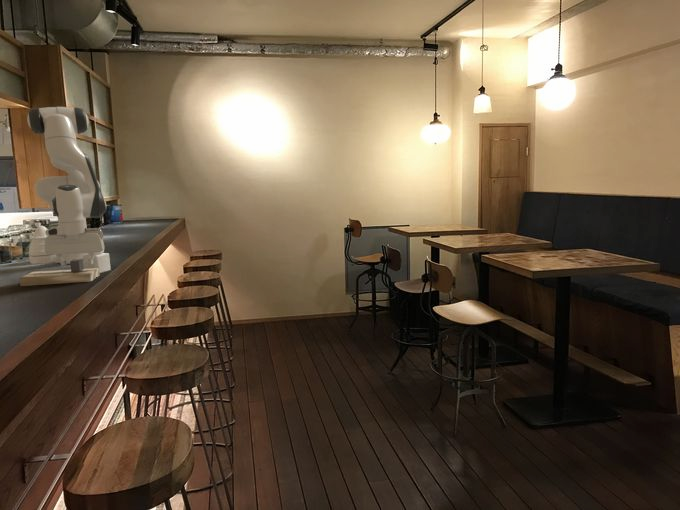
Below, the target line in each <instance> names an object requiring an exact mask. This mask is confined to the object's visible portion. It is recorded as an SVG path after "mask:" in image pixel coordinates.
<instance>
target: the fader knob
mask: <svg viewBox="0 0 680 510" xmlns="http://www.w3.org/2000/svg"><path fill="white" fill-rule="evenodd" d="M69 266H70V269H71V272H80V271H82V270H83V269H84V264H83V259H74V260H72V261H70V264H69Z"/></svg>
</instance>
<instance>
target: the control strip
mask: <svg viewBox="0 0 680 510" xmlns="http://www.w3.org/2000/svg"><path fill="white" fill-rule="evenodd" d="M100 275H101V273H100V270H99V268H84V269H83V270H82V271H80V272H71V268H70V269H69V268H68V269H54V270H40V271H39V270H37V271H36V270H35V271H31V272H30V273H29V272H28V273H27V274H25V275H23V276H21V277H19V283H20V287H27V286H40V285H41V286H42V285H54V284H55V285H57V284H59V285H60V284H71V283H72V284H74V283H85V282H86V283H89V282H92V281H94V280H95V279H97V278H98V277H99V276H100ZM96 277H97V278H96Z"/></svg>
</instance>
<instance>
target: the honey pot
mask: <svg viewBox="0 0 680 510" xmlns="http://www.w3.org/2000/svg"><path fill="white" fill-rule="evenodd" d="M34 226H35V227H36V229H35V231H34V233H33V234H32V235H31V236H29V237H28V238H29V240H31V242H30V243H29V250H28V259H29V264H32V265H34V264H35V265H39V264H40V265H41V264H50V263H55V260H58V259H57V257H56V255H47V254H46V253H45V246H44V243H45V238H46V237H47V235H46V233H45V231H46V230H48V229H49V228H47V227H46V226H43V225H41V222H34Z"/></svg>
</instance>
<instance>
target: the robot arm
mask: <svg viewBox="0 0 680 510" xmlns="http://www.w3.org/2000/svg"><path fill="white" fill-rule="evenodd" d="M26 116H27V118H26V121H27V124H28V127H29V129H30V130H31V131H32V133H35V134H36V135H37V134H38V135H41V136H42V135H44V143H45V149H46V153H47V155H48V157H49V160H50V161H49V162H50V163H51V165H53V167H55V168H57V169H59V170H61V171H63V172H65V173H67V175H59V176H58V175H54V176H53V175H52V176H51V175H50V176H47V177H41V178H39V179H37V181H36V183H35V186H34V190H35V193H36V196H37V197H38V198H39V199H40V200H42V201H44V202H45V203H46V204H48V205H49V206H50V207H51V208H52V209H53V215H55V216H56V217H57V221H58V225H55V226H53V227H51V228H47V229H48V230H46V231H45V233H46V235H47V237H46V238H45V243H44V246H45V253H46V254H47V255H56V257H57V259H58V260H55V262H54V264H55V263H56V264H60V266H61V267H66V266H67V265H68V264H69V265H70V261H72V260H74V259H83V256H84V255H88V253H90V256H91V258H90V259H88V260H87V262H88V265H89V264H93V258H94V256H95V252H102V251H103V250H104V251H105V248H106V247H105V242H104V240H103V238H104V232H103V230H102V229H100V228H99V227H94V228H92V227H88V225H87V218H90V219H91V218H94V219H96V218H101V217H103V215H104V214H105V213H106V212H107V202H106V199H105V197H104V195H103V192H102V190H101V184H100V182H99V181H98V179H97V176H96V173H95V170H94V167H93V165H92V161H91V160H90V158H89V156H88V154H86V153H84V152H83V151H82V150H81V149H80V147H79V145H78V141H77V135H80V134H84V133H86V132H87V131H88V128H89V124H90V122H89V121H90V119H89V117H88V115H87V113H86V111H85V110H84V109H83V108H80V107H71V106H70V107H68V106H48V107H33V108H30V110H29V111H28V114H27V115H26ZM76 134H77V135H76Z"/></svg>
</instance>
